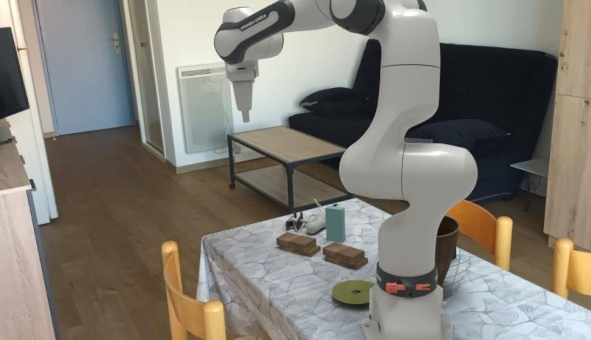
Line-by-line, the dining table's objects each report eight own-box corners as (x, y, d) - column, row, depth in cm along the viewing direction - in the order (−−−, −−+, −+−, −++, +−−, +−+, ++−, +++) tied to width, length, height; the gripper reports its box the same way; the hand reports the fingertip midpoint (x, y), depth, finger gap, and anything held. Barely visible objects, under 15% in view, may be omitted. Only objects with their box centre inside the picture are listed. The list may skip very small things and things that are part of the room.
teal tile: (329, 238, 164) (327, 205, 162) (345, 240, 162) (344, 207, 160) (326, 241, 163) (325, 208, 160) (343, 243, 161) (341, 209, 158)
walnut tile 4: (334, 248, 154) (364, 258, 147) (322, 254, 151) (352, 264, 144) (334, 241, 154) (364, 250, 147) (322, 247, 150) (352, 257, 143)
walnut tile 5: (335, 256, 154) (368, 264, 148) (325, 263, 150) (358, 272, 144) (335, 249, 153) (367, 257, 147) (324, 256, 150) (357, 265, 144)
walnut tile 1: (287, 238, 163) (316, 245, 157) (276, 244, 159) (305, 252, 153) (287, 231, 162) (316, 238, 156) (276, 238, 158) (305, 245, 152)
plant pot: (465, 279, 136) (467, 216, 132) (447, 309, 124) (448, 240, 120) (405, 268, 144) (405, 208, 139) (382, 294, 131) (381, 230, 127)
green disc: (346, 283, 138) (345, 275, 137) (389, 293, 132) (389, 285, 132) (322, 304, 129) (322, 296, 128) (368, 316, 123) (368, 307, 123)
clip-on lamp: (314, 213, 185) (283, 233, 171) (313, 194, 184) (281, 214, 170) (346, 217, 179) (316, 239, 165) (345, 198, 177) (314, 218, 163)
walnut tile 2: (291, 246, 162) (321, 253, 156) (280, 253, 158) (311, 260, 153) (290, 239, 162) (320, 246, 156) (280, 246, 158) (310, 253, 152)
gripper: (231, 67, 162) (235, 115, 166) (229, 75, 143) (233, 130, 147) (253, 65, 163) (257, 113, 166) (254, 74, 143) (258, 128, 147)
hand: (246, 121), depth 156 cm, fingers closed
